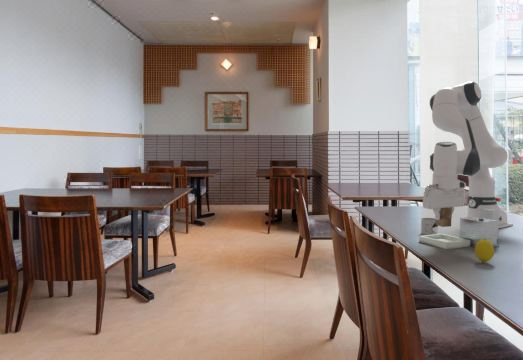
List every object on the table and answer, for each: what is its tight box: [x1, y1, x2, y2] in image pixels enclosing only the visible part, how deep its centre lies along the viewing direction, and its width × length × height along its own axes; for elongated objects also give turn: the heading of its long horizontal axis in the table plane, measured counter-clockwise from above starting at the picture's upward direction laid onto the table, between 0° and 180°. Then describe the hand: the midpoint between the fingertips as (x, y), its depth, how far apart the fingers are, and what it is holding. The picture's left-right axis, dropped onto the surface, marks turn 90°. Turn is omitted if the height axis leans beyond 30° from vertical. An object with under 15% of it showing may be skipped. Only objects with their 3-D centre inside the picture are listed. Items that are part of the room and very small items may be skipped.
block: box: [435, 207, 453, 228], centre depth 164 cm, size 4×4×7 cm
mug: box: [420, 217, 439, 236], centre depth 186 cm, size 10×7×7 cm, turn 147°
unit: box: [459, 216, 500, 248], centre depth 163 cm, size 9×11×11 cm
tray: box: [418, 233, 471, 250], centre depth 165 cm, size 12×14×2 cm
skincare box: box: [479, 209, 500, 240], centre depth 174 cm, size 6×4×12 cm
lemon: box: [474, 239, 495, 264], centre depth 137 cm, size 6×6×8 cm
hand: (443, 219), depth 164 cm, fingers closed on block, 4 cm apart
